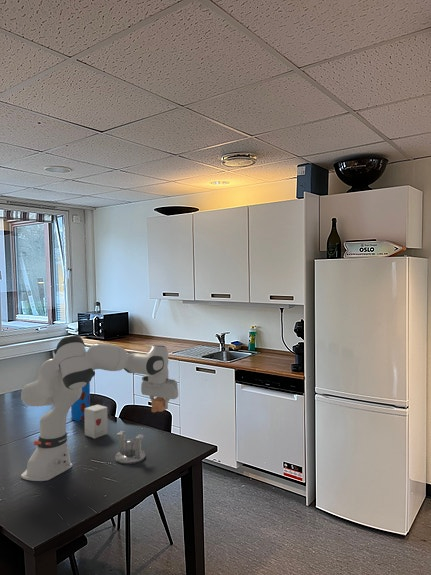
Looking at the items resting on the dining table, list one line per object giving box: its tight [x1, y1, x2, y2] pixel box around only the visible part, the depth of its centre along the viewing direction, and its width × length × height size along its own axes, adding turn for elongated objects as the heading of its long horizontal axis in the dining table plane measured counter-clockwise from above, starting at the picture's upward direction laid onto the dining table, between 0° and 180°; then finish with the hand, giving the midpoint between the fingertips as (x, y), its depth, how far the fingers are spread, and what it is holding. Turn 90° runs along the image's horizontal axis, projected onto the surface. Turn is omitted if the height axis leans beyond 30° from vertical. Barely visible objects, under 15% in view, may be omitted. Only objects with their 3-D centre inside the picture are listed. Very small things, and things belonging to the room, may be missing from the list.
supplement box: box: [84, 404, 108, 440], centre depth 232 cm, size 9×9×15 cm
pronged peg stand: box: [114, 430, 146, 465], centre depth 202 cm, size 14×14×11 cm
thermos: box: [70, 381, 91, 422], centre depth 260 cm, size 11×11×25 cm
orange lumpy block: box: [151, 397, 169, 413], centre depth 210 cm, size 6×11×6 cm, turn 151°
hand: (159, 405), depth 210 cm, fingers closed on orange lumpy block, 6 cm apart
